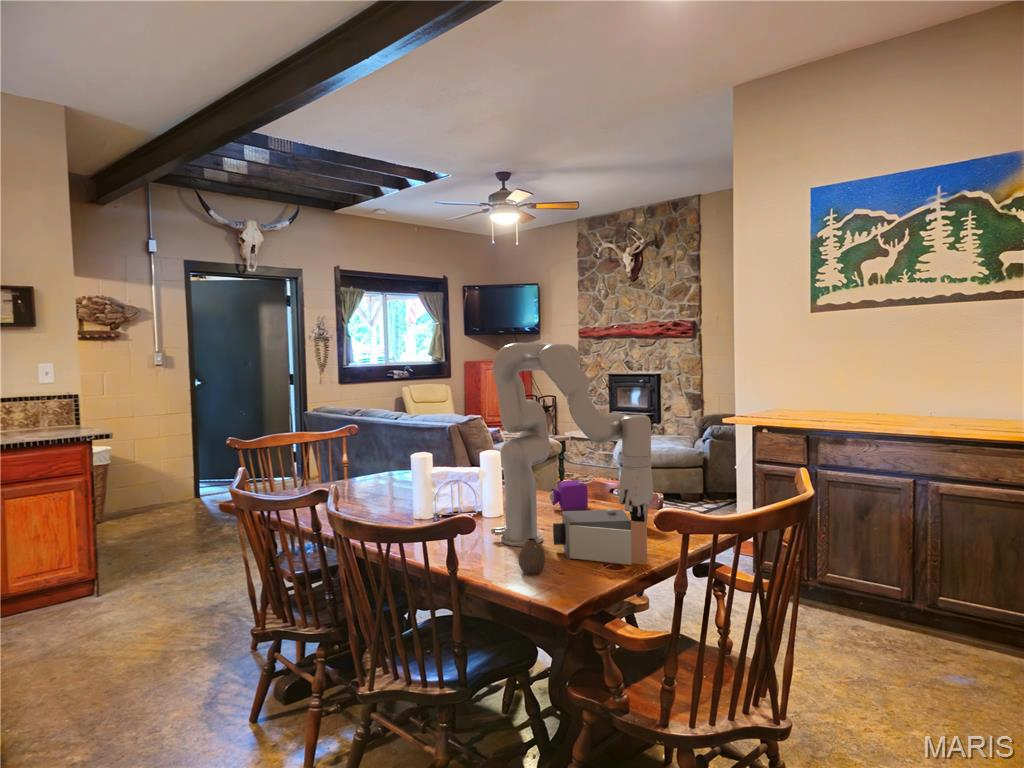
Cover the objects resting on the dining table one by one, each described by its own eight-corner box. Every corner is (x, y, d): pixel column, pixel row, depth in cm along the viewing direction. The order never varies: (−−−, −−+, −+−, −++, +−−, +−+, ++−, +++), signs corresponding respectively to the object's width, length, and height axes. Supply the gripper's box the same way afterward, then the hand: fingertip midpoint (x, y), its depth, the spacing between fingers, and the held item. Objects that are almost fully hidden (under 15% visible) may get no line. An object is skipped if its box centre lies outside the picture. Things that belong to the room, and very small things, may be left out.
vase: (517, 568, 162) (516, 535, 161) (543, 567, 162) (542, 534, 162) (519, 578, 155) (518, 544, 154) (546, 576, 155) (546, 542, 155)
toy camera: (546, 507, 224) (545, 480, 224) (580, 503, 229) (579, 477, 228) (556, 514, 214) (556, 486, 214) (592, 510, 218) (591, 482, 218)
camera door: (566, 559, 167) (565, 516, 167) (567, 558, 168) (566, 515, 168) (646, 568, 159) (646, 523, 158) (647, 566, 160) (646, 521, 159)
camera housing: (555, 558, 168) (554, 519, 168) (552, 544, 180) (551, 508, 180) (631, 556, 168) (631, 517, 168) (623, 542, 180) (622, 506, 180)
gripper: (639, 456, 169) (640, 521, 170) (608, 464, 159) (610, 533, 160) (663, 458, 164) (664, 525, 165) (633, 467, 153) (634, 539, 154)
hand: (638, 529), depth 162 cm, fingers closed
